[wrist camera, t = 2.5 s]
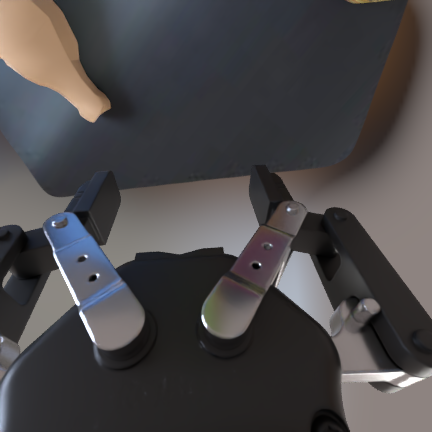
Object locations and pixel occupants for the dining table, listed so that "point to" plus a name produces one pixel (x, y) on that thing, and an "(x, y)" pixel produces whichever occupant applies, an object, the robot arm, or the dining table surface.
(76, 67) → the squash
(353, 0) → the sauce bottle
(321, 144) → the dining table surface
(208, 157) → the dining table surface
